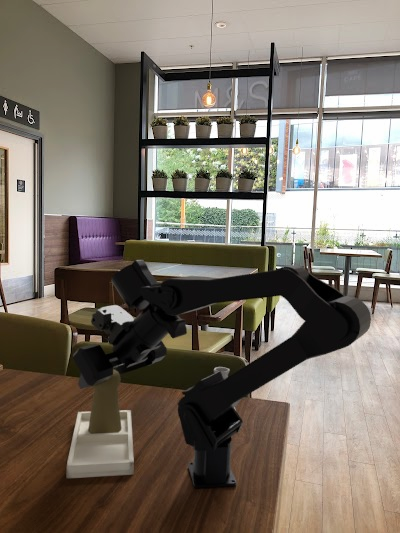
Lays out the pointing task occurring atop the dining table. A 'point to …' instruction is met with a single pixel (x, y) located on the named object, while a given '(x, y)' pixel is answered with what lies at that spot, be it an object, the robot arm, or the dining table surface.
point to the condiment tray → (101, 449)
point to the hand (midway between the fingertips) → (99, 379)
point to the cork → (106, 407)
